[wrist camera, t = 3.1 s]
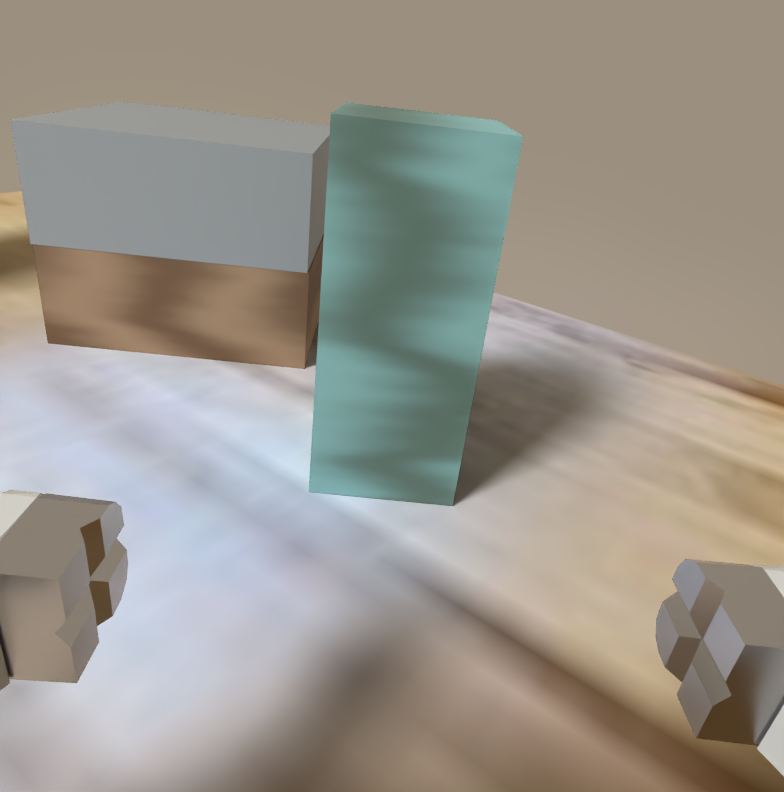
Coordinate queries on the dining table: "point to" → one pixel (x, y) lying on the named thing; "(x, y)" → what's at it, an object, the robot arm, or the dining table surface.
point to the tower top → (175, 184)
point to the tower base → (179, 306)
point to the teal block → (405, 296)
